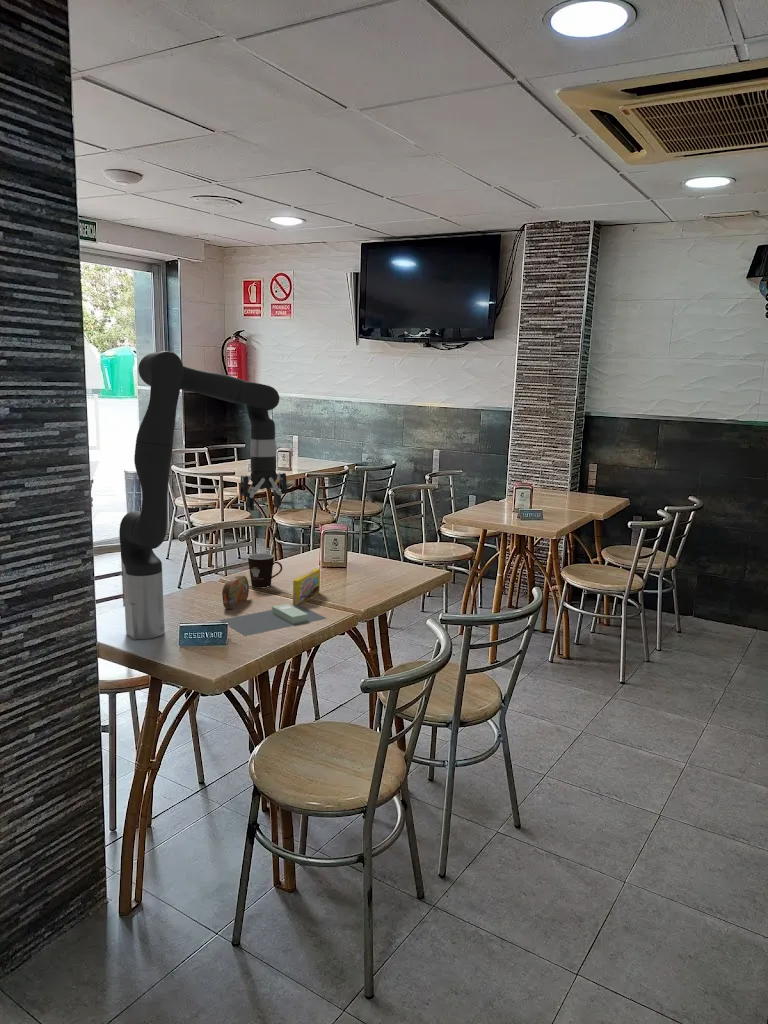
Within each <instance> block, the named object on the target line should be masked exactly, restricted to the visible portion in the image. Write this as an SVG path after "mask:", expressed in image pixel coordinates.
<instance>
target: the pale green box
mask: <svg viewBox="0 0 768 1024" xmlns="http://www.w3.org/2000/svg"><path fill="white" fill-rule="evenodd" d="M293 606H294V605H291V604H289V603H284V604H278V605H273V606H272V607H271V608H272V609H271V610H272V613H273V614H275V615H277V616H279V617H281V618H283V619H284V620H286V621H288V622H290V623H292V624H295V623H300V622H304V621H308V614H307V613H305V612H303V611H301V610H299V609H297V608H295V607H293Z"/></svg>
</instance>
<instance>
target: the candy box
mask: <svg viewBox="0 0 768 1024" xmlns="http://www.w3.org/2000/svg"><path fill="white" fill-rule="evenodd" d="M292 581H293V583H292V585H293V586H292V605H293V606H294V605H300V604H301V603H302V604H304V603H305V602H307V601H308V600H310V599H312V598H314V597H315V596H317V595H319V594H320V585H321V583H320V582H321V569H320V568H313V569H312V570H310V571H309V572H306V573H305V574H303V575H301V576H299V577H296V578H295V579H293V580H292ZM313 596H314V597H313ZM311 597H312V598H311Z"/></svg>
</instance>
